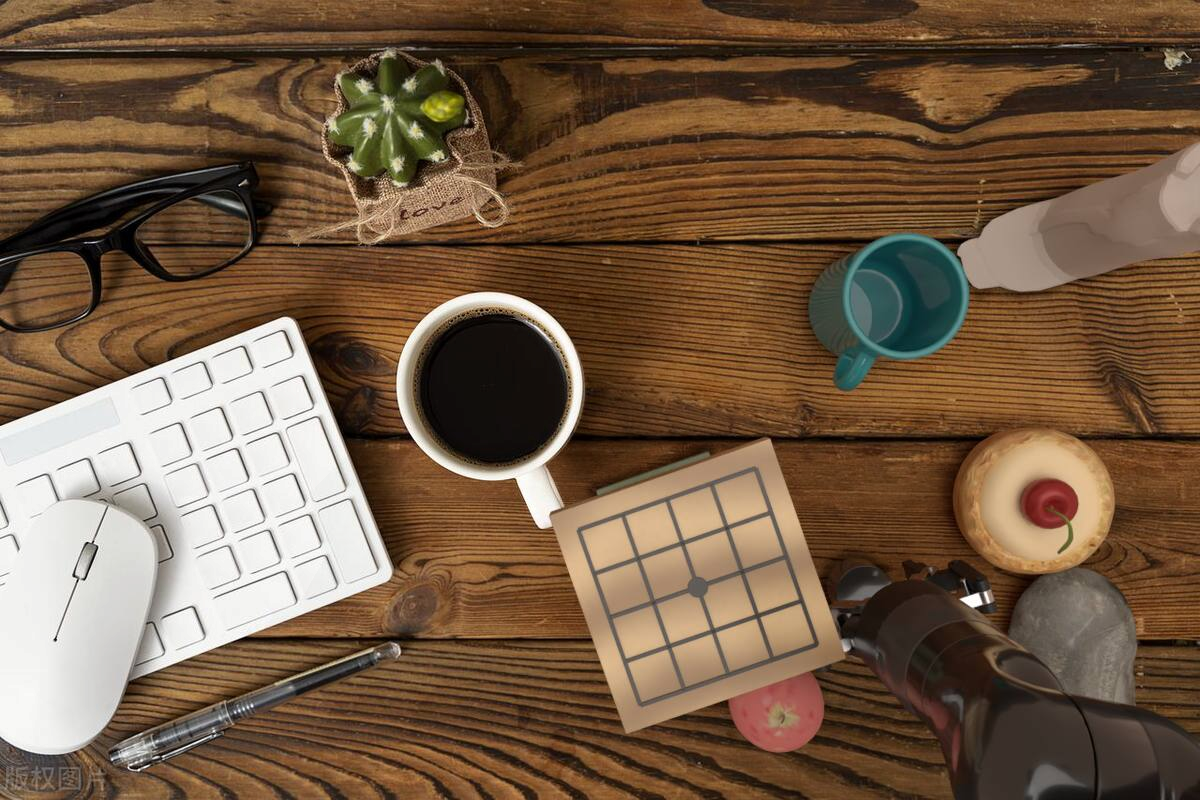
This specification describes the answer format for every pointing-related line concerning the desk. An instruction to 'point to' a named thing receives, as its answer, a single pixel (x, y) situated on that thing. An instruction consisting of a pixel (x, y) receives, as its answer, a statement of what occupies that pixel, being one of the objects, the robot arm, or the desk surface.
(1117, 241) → the beige tapered piece
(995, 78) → the desk surface
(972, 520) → the pastry
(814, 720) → the apple
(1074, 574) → the stone
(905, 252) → the cup
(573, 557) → the board
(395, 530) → the desk surface
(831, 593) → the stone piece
